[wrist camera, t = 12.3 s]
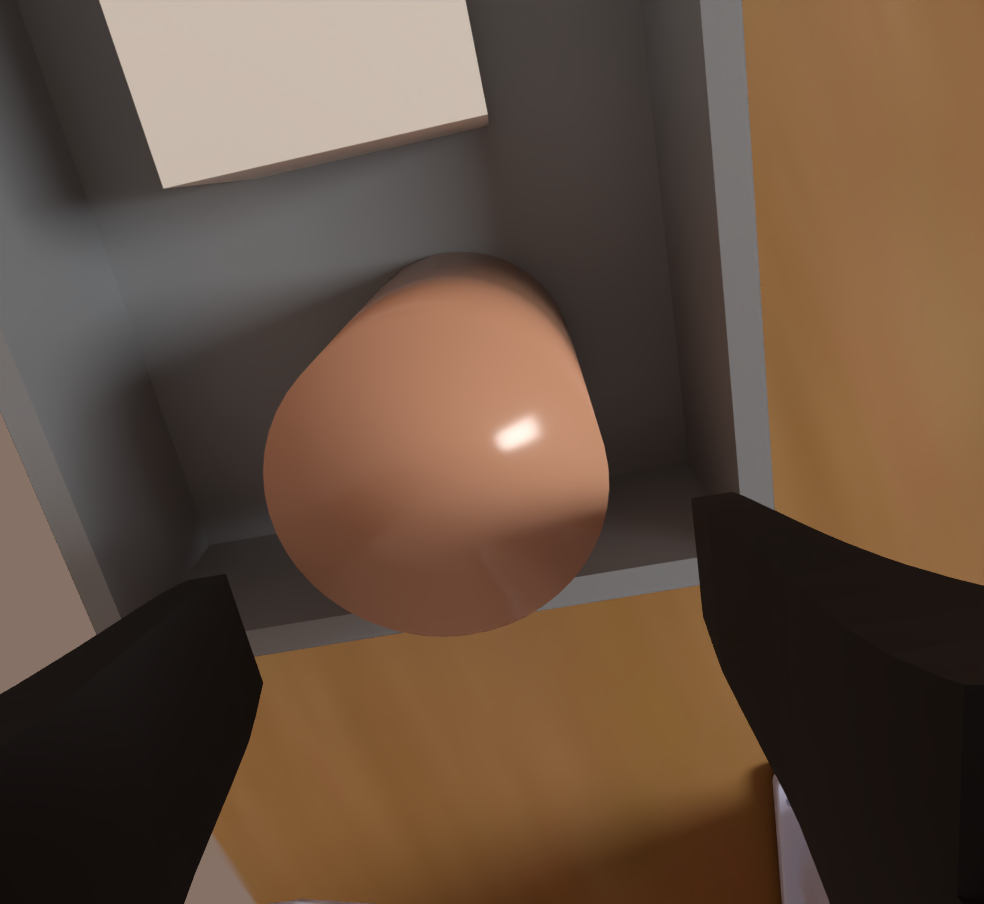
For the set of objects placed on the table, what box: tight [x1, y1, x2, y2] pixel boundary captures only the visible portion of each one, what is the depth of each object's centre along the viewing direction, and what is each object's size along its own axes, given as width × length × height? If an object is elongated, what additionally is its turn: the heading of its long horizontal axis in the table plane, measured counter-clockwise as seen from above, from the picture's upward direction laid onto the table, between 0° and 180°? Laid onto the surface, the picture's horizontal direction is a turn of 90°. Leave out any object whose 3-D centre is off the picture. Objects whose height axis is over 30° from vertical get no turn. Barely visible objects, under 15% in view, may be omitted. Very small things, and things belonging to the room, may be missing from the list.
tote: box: [0, 0, 774, 657], centre depth 15 cm, size 17×13×5 cm
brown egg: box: [263, 252, 609, 637], centre depth 15 cm, size 5×5×7 cm
